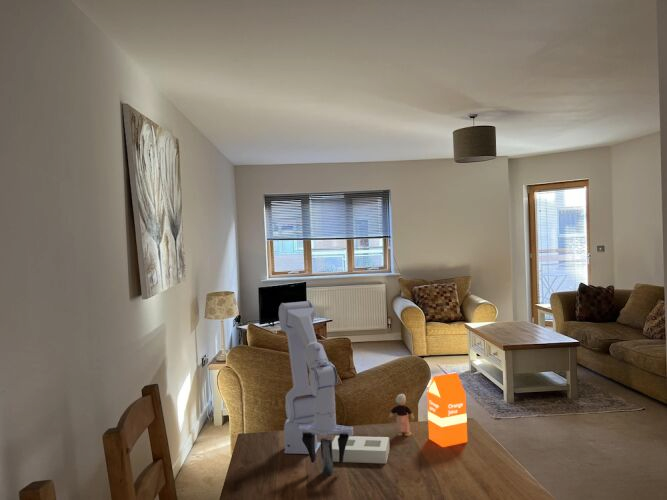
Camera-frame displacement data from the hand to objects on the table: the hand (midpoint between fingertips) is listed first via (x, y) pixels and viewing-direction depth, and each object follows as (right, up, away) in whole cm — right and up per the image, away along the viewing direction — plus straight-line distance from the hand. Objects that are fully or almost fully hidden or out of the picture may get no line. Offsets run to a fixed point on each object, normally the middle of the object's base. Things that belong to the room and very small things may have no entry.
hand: (327, 461), depth 141 cm
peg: (0, -3, 0) cm, 3 cm away
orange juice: (+36, -1, +18) cm, 41 cm away
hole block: (+9, -2, +10) cm, 14 cm away
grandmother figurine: (+23, -2, +25) cm, 34 cm away
